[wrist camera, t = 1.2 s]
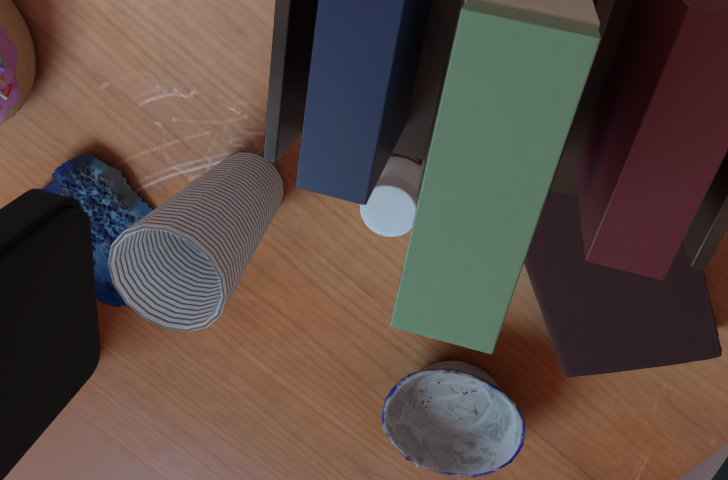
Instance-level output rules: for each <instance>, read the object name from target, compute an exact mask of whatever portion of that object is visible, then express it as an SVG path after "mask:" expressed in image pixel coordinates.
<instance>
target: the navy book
mask: <svg viewBox="0 0 728 480" xmlns="http://www.w3.org/2000/svg"><path fill="white" fill-rule="evenodd" d="M431 4H432V0H318V8H317V16H316V24H315V32H314V40H313V48H312V57H311V65H310V73H309V81H308V89H307V97H306V105H305V113H304V122H303V130H302V138H301V146H300V154H299V162H298V170H297V178H296V187H297V188H301V189H305V190H309V191H312V192H316V193H320V194H324V195H328V196H331V197H335V198H339V199H343V200H347V201H350V202H354V203H358V204H362V205H366V204H367V202H368V200H369V198H370V196H371V194H372V192H373V190H374V188H375V186H376V184H377V182H378V180H379V178H380V176H381V174H382V172H383V170H384V168H385V166H386V164H387V162H388V160H389V158H390V156H391V154H392V152H393V150H394V148H395V146H396V144H397V142H398V140H399V138H400V136H401V134H402V132H403V130H404V128H405V125H406V121H407V116H408V111H409V107H410V102H411V97H412V93H413V88H414V83H415V79H416V74H417V69H418V65H419V60H420V55H421V51H422V46H423V41H424V36H425V32H426V27H427V22H428V18H429V13H430V8H431Z"/></svg>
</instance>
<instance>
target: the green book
mask: <svg viewBox="0 0 728 480" xmlns="http://www.w3.org/2000/svg"><path fill="white" fill-rule="evenodd" d="M599 26H600V22H599V19H598V16H597V13H596V10H595V7H594V4H593V0H465V3H464V5H463V7H462V9H461V12H460V17H459V21H458V26H457V30H456V35H455V39H454V43H453V48H452V52H451V57H450V61H449V66H448V70H447V75H446V79H445V83H444V88H443V92H442V97H441V101H440V106H439V110H438V114H437V119H436V123H435V128H434V132H433V137H432V141H431V146H430V150H429V154H428V159H427V163H426V168H425V172H424V177H423V181H422V186H421V190H420V194H419V199H418V203H417V208H416V212H415V217H414V221H413V225H412V230H411V234H410V239H409V243H408V248H407V252H406V257H405V261H404V265H403V270H402V274H401V279H400V283H399V288H398V292H397V297H396V301H395V305H394V310H393V314H392V319H391V323H390V326H391V327H393V328H397V329H400V330H404V331H408V332H411V333H415V334H419V335H422V336H426V337H430V338H433V339H437V340H440V341H444V342H448V343H451V344H455V345H459V346H462V347H466V348H470V349H473V350H477V351H480V352H484V353H488V354H492V353H493V351H494V348H495V345H496V342H497V339H498V336H499V333H500V331H501V328H502V325H503V322H504V319H505V316H506V313H507V310H508V307H509V304H510V302H511V299H512V296H513V293H514V290H515V287H516V284H517V281H518V278H519V275H520V272H521V270H522V267H523V264H524V261H525V258H526V255H527V252H528V249H529V246H530V243H531V241H532V238H533V235H534V232H535V229H536V226H537V223H538V220H539V217H540V214H541V212H542V209H543V206H544V203H545V200H546V197H547V194H548V191H549V188H550V185H551V183H552V180H553V177H554V174H555V171H556V168H557V165H558V162H559V159H560V156H561V153H562V151H563V148H564V145H565V142H566V139H567V136H568V133H569V130H570V127H571V124H572V122H573V119H574V116H575V113H576V110H577V107H578V104H579V101H580V98H581V95H582V93H583V90H584V87H585V84H586V81H587V78H588V75H589V72H590V69H591V66H592V63H593V61H594V58H595V55H596V52H597V49H598V46H599V43H600V40H601V36H600V33H599V30H598V29H599Z"/></svg>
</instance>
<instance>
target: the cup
mask: <svg viewBox="0 0 728 480" xmlns="http://www.w3.org/2000/svg"><path fill="white" fill-rule="evenodd" d="M283 195H284V186H283V180H282V178H281V176H280V174H279V172H278V170H277V168H276V167H275V166H274V165H273V164H272V163H271V162H269V161H265V160H263V157H262V156H260V155H258V154H255V153H248V152H239V153H236V154H234V155H231V156H229V157H227V158H226V159H224V160H223V161H222V162H220V163H219V164H217V165H216V166H215V167H213V168H212V169H210V170H209V171H208V172H206V173H205V174H203V175H202V176H201V177H199V178H198V179H196V180H195V181H194V182H192V183H191V184H189V185H188V186H186V187H185V188H184V189H182V190H181V191H179V192H178V193H177V194H175V195H174V196H172V197H171V198H170V199H168V200H167V201H165V202H164V203H163V204H161V205H160V206H158V207H157V208H156V209H154V210H153V211H151V212H150V213H149V214H147V215H146V216H144V217H143V218H142V219H140V220H139V221H137V222H136V223H135V224H133V225H132V226H130V227H129V228H128V229H126V230H125V231H123V233H122V234H121V235H120V236H119V237H118V238H117V239H116V240H115V242H114V243H113V244H112V245H111V250H110V255H109V261H108V266H109V270H110V274H111V278H112V281H113V285H114V286H115V288H116V289H117V291H118V292H119V294H120V295H121V297H122V298H123V300H124V301H125V303H126V304H127V305H128V306H129V307H130V308H132V309H133V310H134V311H135V312H136V313H138V314H139V315H140V316H141V317H142V318H143V319H145V320H147V321H149V322H151V323H154V324H156V325H158V326H160V327H162V328H165V329H170V330H177V331H184V332H190V331H194V330H198V329H202V328H206V327H208V326H209V325H210V324H211V323H213V322H214V321H215V320H216V319H217V318H218V317H220V316H221V314H222V312H223V310H224V308H225V306H226V304H227V303H228V301H229V299H230V297H231V295H232V293H233V291H234V290H235V288H236V286H237V284H238V282H239V280H240V278H241V276H242V275H243V273H244V271H245V269H246V267H247V265H248V263H249V262H250V260H251V258H252V256H253V254H254V252H255V250H256V249H257V247H258V245H259V243H260V241H261V239H262V237H263V235H264V234H265V232H266V230H267V228H268V226H269V224H270V222H271V221H272V219H273V217H274V215H275V213H276V211H277V209H278V207H279V206H280V204H281V201H282V198H283Z"/></svg>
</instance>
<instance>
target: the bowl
mask: <svg viewBox="0 0 728 480" xmlns="http://www.w3.org/2000/svg"><path fill="white" fill-rule="evenodd" d="M382 421H383V424H382V428H383V431H384V433H385V434H387V436H388V438H389V439H390V441H391V442H392V443H393V445H394V446H395V447H396V448H397V449H398V450H399V451H400V452H401V453H402V454H403V455H404V456H405V458H406V459H407V460H410V461H412V462H414V463H415V465H416V466H417V467H418V466H423V467H425V468H427V469H429V470H432V471H435V472H439V473H443V474H448V475H454V476H470V477H475V476H481V475H486V474H489V473H492V472H494V471H496V470H499V469H500V468H502V467H504V466H506V465H508V464H509V463H512V461H513V459H514V458H515V457H516V456H517V454H518V453H519V451H520V449H521V448H522V446H523V442H524V438H525V423H524V419H523V416H522V414H521V412H520V410H519V408H518V407H517V405H516V404H515V402H514V401H513V400H512V399H511V398H510V397H509V396H508V395H507V394H506V393H505V392H504V391H503V390H502V389H501V388H500V387H499V385H498V384H497V383H496V382H495V381H494V380H493V379H492V378H491V377H490V376H489V375H488V374H487V373H486V372H485V371H483V370H482V369H480V368H478V367H476V366H474V365H472V364H470V363H466V362H462V361H442V362H438V363H435V364H432V365H430V366H428V367H426V368H424V369H422V370H420V371H417V372H414V373H412V374H409V375H408V376H406V377H405V378H403V379H402V380H401V381H400V382H398V383H397V384H396V385H395V386H394V387H393V388H392V389H391V391H390V393H389V394H388V396H387V397H386V399H385V403H384V407H383V412H382Z"/></svg>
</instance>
